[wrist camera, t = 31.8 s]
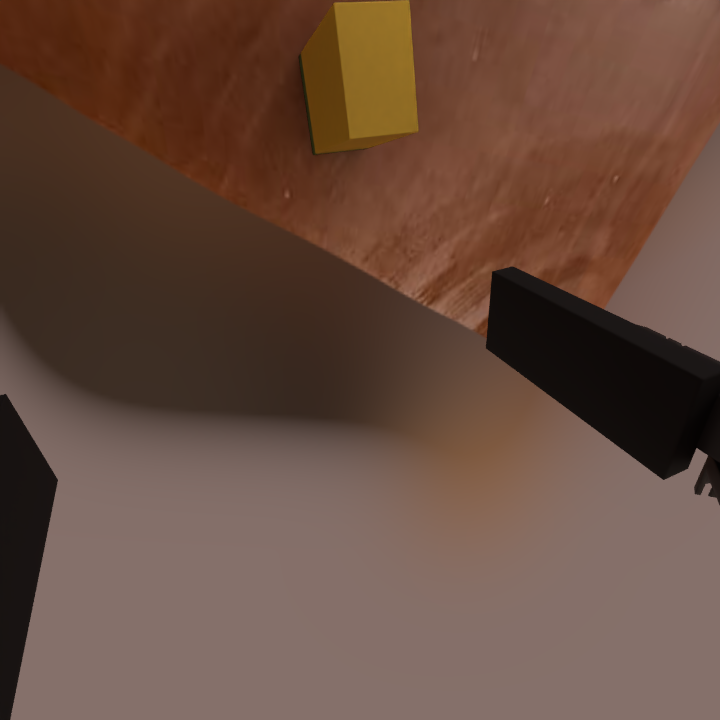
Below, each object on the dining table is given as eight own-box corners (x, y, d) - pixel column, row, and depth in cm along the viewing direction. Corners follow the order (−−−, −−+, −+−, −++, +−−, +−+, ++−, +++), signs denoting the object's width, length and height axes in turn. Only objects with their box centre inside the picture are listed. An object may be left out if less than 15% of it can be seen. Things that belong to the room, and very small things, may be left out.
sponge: (312, 155, 32) (349, 139, 24) (298, 55, 30) (333, 2, 22) (366, 148, 33) (418, 132, 25) (355, 52, 31) (409, -1, 23)
